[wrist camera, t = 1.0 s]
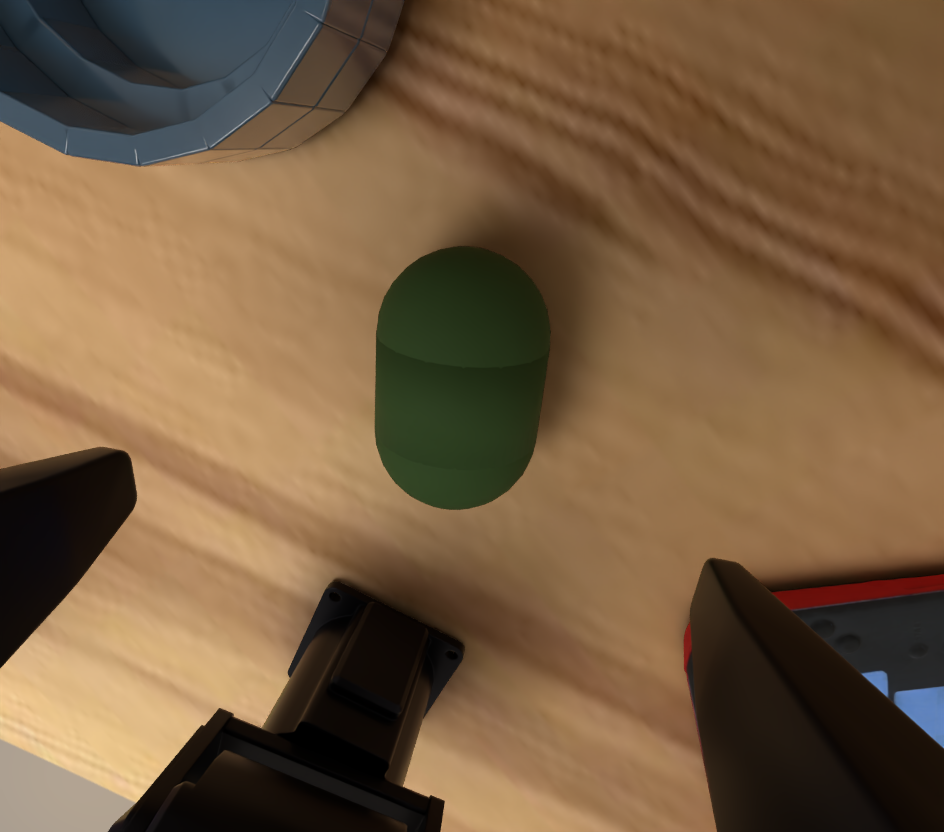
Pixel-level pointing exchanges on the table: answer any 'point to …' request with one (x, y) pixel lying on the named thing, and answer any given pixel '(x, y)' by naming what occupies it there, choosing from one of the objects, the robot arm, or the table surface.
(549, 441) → the table surface
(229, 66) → the bowl
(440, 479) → the green rounded cylinder
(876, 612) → the game console
